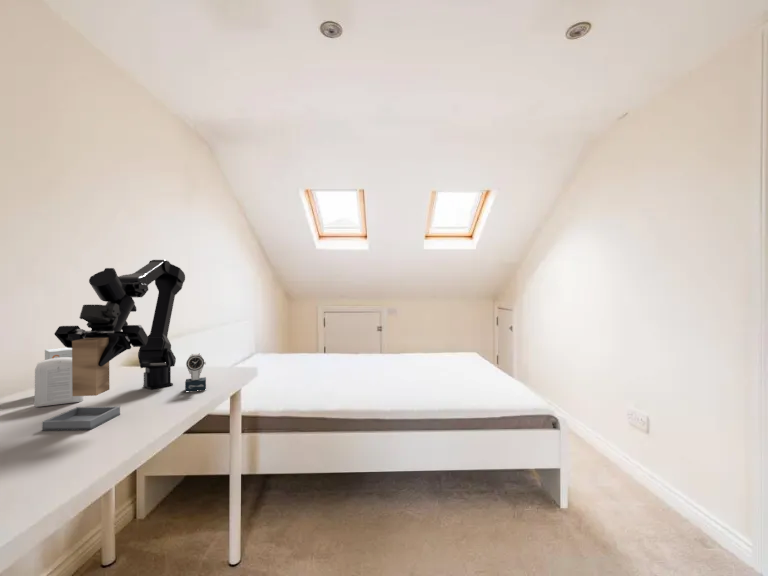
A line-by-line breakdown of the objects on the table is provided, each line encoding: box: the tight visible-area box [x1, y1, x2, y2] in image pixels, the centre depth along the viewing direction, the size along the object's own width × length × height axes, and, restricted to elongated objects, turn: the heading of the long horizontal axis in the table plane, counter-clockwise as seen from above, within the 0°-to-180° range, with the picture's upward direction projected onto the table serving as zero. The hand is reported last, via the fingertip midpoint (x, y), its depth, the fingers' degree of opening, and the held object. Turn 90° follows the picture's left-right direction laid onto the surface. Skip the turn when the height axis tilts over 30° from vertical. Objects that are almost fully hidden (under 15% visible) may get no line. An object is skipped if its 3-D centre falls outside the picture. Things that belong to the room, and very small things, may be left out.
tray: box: [41, 406, 121, 432], centre depth 90 cm, size 10×10×2 cm
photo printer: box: [33, 357, 85, 408], centre depth 105 cm, size 10×4×12 cm, turn 123°
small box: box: [44, 347, 72, 360], centre depth 116 cm, size 8×6×13 cm
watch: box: [184, 353, 207, 393], centre depth 118 cm, size 6×8×11 cm
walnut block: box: [72, 338, 110, 397], centre depth 90 cm, size 5×5×12 cm
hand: (87, 365), depth 89 cm, fingers closed on walnut block, 5 cm apart
